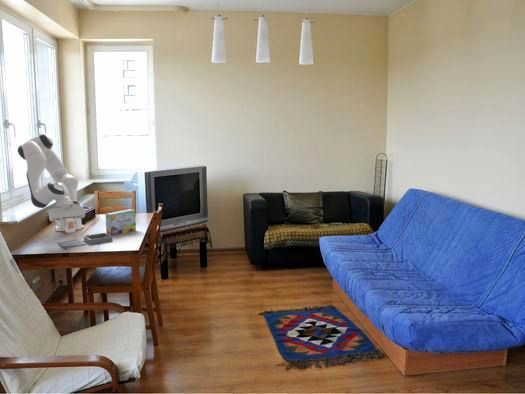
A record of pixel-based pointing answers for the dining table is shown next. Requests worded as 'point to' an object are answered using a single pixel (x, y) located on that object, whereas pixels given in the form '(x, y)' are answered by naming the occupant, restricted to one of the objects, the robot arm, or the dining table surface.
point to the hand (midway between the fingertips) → (69, 224)
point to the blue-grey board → (71, 243)
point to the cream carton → (69, 225)
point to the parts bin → (97, 238)
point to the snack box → (120, 222)
